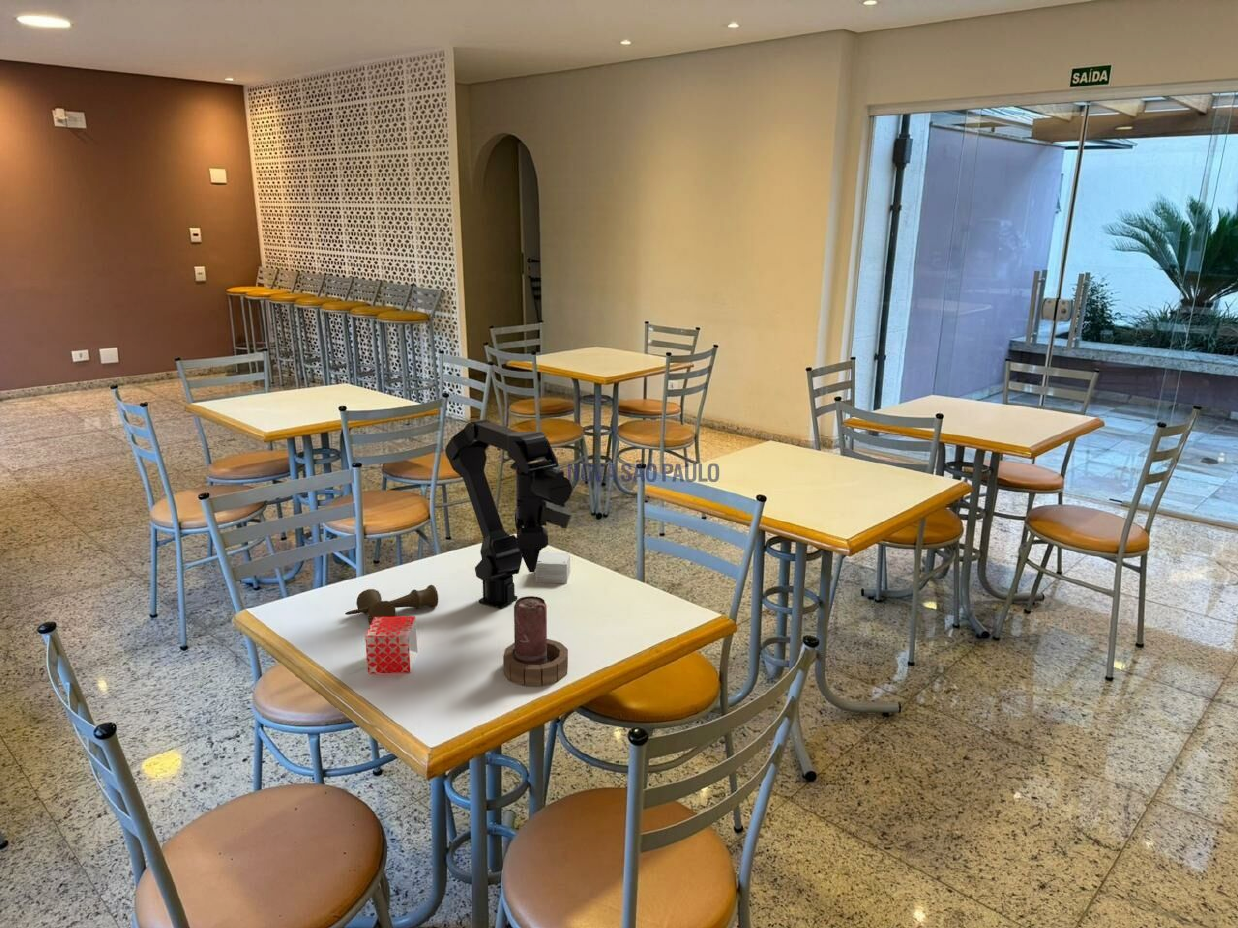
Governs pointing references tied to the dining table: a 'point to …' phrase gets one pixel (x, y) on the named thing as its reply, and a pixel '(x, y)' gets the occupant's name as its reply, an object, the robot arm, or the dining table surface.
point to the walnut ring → (537, 666)
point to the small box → (552, 567)
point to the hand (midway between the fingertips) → (530, 563)
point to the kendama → (393, 602)
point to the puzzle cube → (391, 645)
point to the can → (530, 630)
